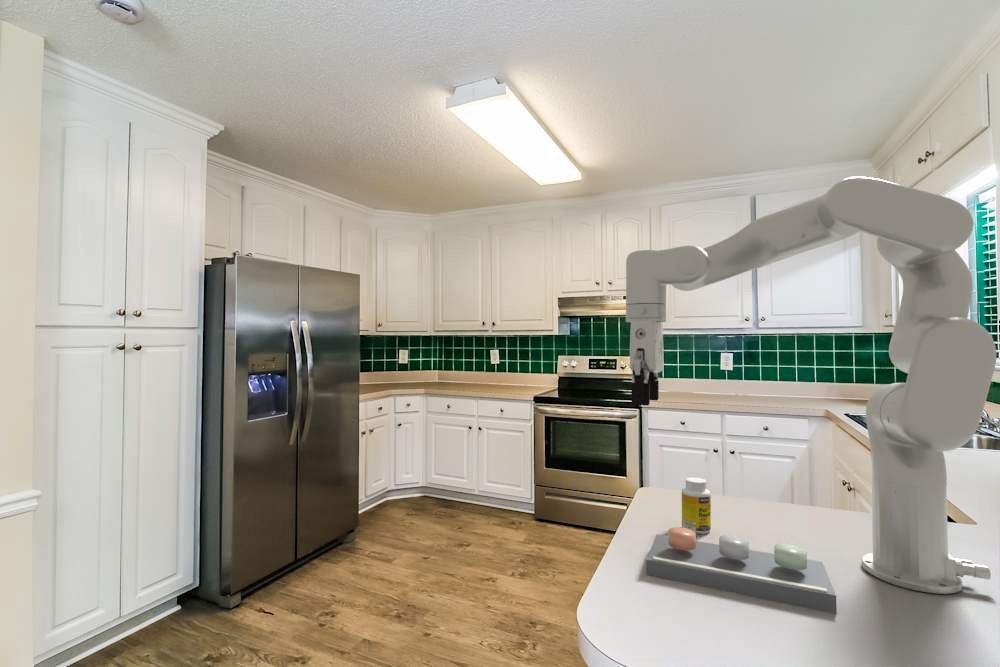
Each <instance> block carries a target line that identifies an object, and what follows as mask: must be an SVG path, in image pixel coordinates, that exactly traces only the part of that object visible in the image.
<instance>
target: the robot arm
mask: <svg viewBox="0 0 1000 667" xmlns="http://www.w3.org/2000/svg"><path fill="white" fill-rule="evenodd" d="M973 219H974V218H973V215H972V214H971V212H970V211H969V210H968V209H967V207H966V206H964V205H963V204H961V203H960V202H959V201H956V200H954V199H953V198H950V197H946V196H943V195H940V194H936V193H933V192H929V191H925V190H921V189H917V188H914V187H910V186H906V185H903V184H899V183H895V182H891V181H887V180H883V179H880V178H874V177H868V176H867V177H866V176H850V177H847V178H844V179H841V180H839V181H838V182H837V183H835V184H834V185H833V186H832V187H830V189H829V190H828V191H826V193H824V194H822V195H819V196H816V197H814V198H811V199H808V200H806V201H803V202H801V203H800V202H799V203H798V204H795V205H792V206H790V207H786V208H784V209H780V210H779V211H775V212H773V213H770V214H768V215H764V216H762V217H758V218H757V219H755V220H753V221H752V222H750V223H749V224H747V225H745V226H744V227H742V228H741V229H740V230H739V231H736V233H734V234H733V235H731V236H729V237H727V238H725V239H723V240H721V241H719V242H716V243H714V244H712V245H710V246H707V247H704V248H702V247H699V246H695V245H683V246H681V245H680V246H676V247H671V248H667V249H661V250H655V249H641V250H640V249H639V250H636V251H632V252H630V253H629V254H628V256H626V258H625V259H626V260H625V262H626V263H625V322H626V323H630V332H629V333H630V335H629V366H630V367H629V368H630V371H631V373H632V376H631V389H630V390H631V394H630V395H631V396H630V397H631V400H630V402H631V404H632V405H635V406H649V405H650V402H651V401H659V391H660V389H659V384H660V382H659V374H658V373H661V372H663V370H664V366H665V365H664V343H663V342H664V340H663V327H662V323H666V322H667V285H671V286H672V287H673V288H674V289H676V290H679V291H683V292H689V291H695V290H698V289H702V288H704V287H706V286H710V285H713V284H715V283H719V282H722V281H725V280H728V279H730V278H733V277H736V276H739V275H741V274H744V273H747V272H749V271H750V272H751V271H753V270H757V269H760V268H763V267H766V266H768V265H771V264H773V263H777V262H779V261H782V260H785V259H788V258H791V257H794V256H797V255H799V254H803V253H805V252H808V251H812V250H814V249H817V248H821V247H825V246H827V245H830V244H833V243H836V242H838V241H842V240H845V239H847V238H850V237H852V236H854V235H856V234H858V233H859V232H861V233H865V234H868V235H871V236H874V237H877V238H876V248H877V250H878V253H879V254H880V256H881V257H882V258H883V259H884V260H885V261H886V262H888V263H889V264H890V265H891V266H892V267H894V269H895V270H896V271H897V272H898V274H899V275H900V276H899V277H900V278H901V280H902V295H901V300H900V301H901V302H900V306H899V310H898V313H897V317H896V320H895V324H894V328H893V331H892V334H891V338H890V340H889V341H890V342H889V346H888V355H889V356H888V357H889V359H890V362H891V363H892V364H893V365H894V367H895V368H897V369H898V370H899V371H901V372H904V373H906V374H907V376H906V382H893V383H889V384H886V385H883V386H880V388H877V389H876V390H875V391H874V392H873V393H872V394H871V395H870V397H869V398H868V400H867V403H866V406H865V407H866V408H865V422H866V427H867V433H868V438H869V446H870V456H871V457H870V459H871V464H870V465H871V466H870V467H871V476H870V477H871V478H870V479H871V481H870V482H871V520H872V521H871V524H872V552H869V553H866V554H864V555H862V557H861V566H862V567H863V569H865V571H866V572H867V573H869V574H870V575H872V576H873V577H876V578H877V579H880V580H881V581H883V582H887V583H889V584H892V585H895V586H898V587H901V588H905V589H907V590H913V591H918V592H923V593H929V594H939V595H950V594H955V593H959V592H961V591H962V590H963V580H962V578H964V576H968V577H969V576H970V577H972V578H977V579H983V580H988V581H990V580H991V577H992V576H991V574H992V573H991V570H990V568H989V567H988V566H987V565H982V564H981V565H980V564H975V563H972V560H971V559H965V558H954V557H953V556H952V554H950V553H949V540H948V535H949V534H948V495H947V494H948V492H947V490H948V489H947V485H948V482H947V481H948V478H947V476H948V475H947V465H946V460H945V455H944V452H949V451H954V450H956V449H959V448H961V447H963V446H964V445H966V444H967V443H968V442H969V441H970V440H971V439H972V438H973V436H974V434H975V433H976V432H977V429H978V427H979V425H980V422H981V418H982V416H983V412H984V408H985V406H986V402H987V398H988V396H989V395H988V394H989V391H990V387H991V383H992V379H993V376H994V371H995V369H996V364H997V348H996V343H995V341H994V338H993V337H992V335H991V333H990V332H989V331H988V330H987V328H985V327H984V326H982V325H981V324H980V323H978V322H976V321H975V320H972V319H969V318H968V317H969V312H970V306H971V302H972V297H973V286H974V284H973V277H972V274H971V271H970V269H969V267H968V265H967V264H966V262H965V260H964V259H963V258H962V257H961V255H960V254H959V253H958V252H957V251H956V250H957V249H958V248H960V247H961V246H963V244H965V243H966V242H967V241H968V240H969V238H970V236H971V235H972V232H973V229H974V220H973Z"/></svg>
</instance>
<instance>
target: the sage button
mask: <svg viewBox="0 0 1000 667" xmlns="http://www.w3.org/2000/svg"><path fill="white" fill-rule="evenodd" d="M773 548H774V552H773V554H774V561H775V563H776V564H778V565H780V566H782V567H784V568H788V569H792V570H805V569H806V568H807V559H808V551H807V550H806V549H804V548H803V547H801V546H797V545H793V544H788V543H776V544H775V545H773Z"/></svg>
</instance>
